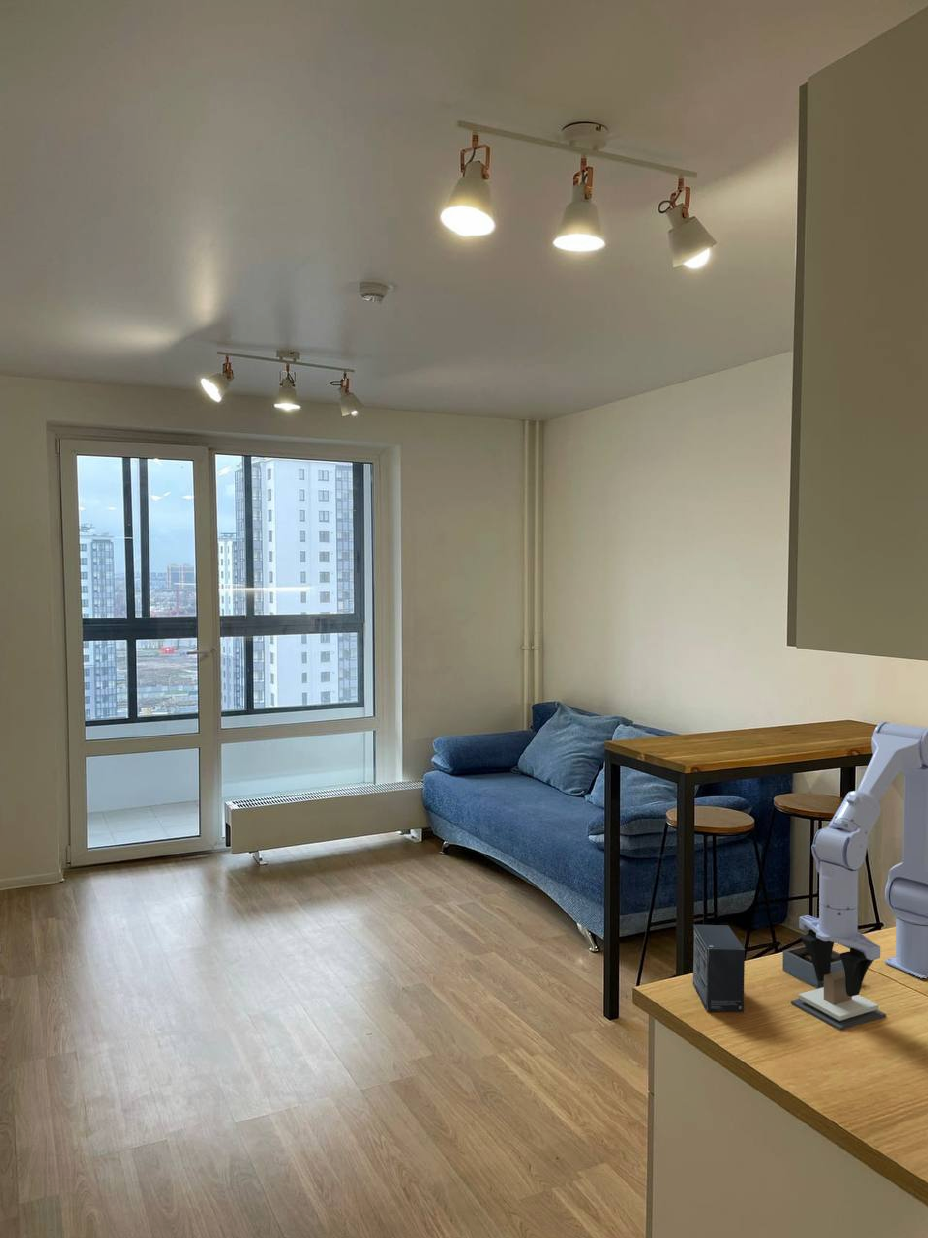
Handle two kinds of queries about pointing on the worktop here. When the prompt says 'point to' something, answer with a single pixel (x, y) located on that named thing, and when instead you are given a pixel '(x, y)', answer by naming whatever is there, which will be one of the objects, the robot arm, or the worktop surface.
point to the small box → (718, 968)
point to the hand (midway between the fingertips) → (837, 986)
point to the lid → (837, 998)
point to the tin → (807, 965)
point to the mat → (834, 1022)
